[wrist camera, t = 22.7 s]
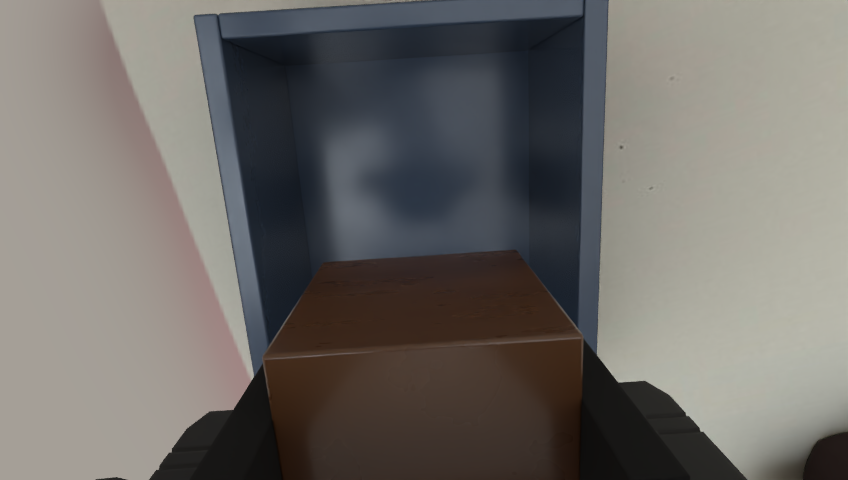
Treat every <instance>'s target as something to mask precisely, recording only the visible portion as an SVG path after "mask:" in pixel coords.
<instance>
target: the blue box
mask: <svg viewBox="0 0 848 480" xmlns="http://www.w3.org/2000/svg"><path fill="white" fill-rule="evenodd" d="M608 2H609V0H426V1H410V2H394V3H378V4H362V5H346V6H330V7H314V8H298V9H282V10H266V11H250V12H234V13H220V14H219V15H217V14H201V15H195V16H194V23H195V29H196V34H197V40H198V46H199V52H200V58H201V64H202V70H203V76H204V82H205V88H206V94H207V100H208V106H209V111H210V117H211V123H212V129H213V135H214V141H215V147H216V153H217V159H218V165H219V171H220V177H221V183H222V188H223V194H224V200H225V206H226V212H227V218H228V224H229V230H230V236H231V242H232V248H233V254H234V260H235V265H236V271H237V277H238V283H239V289H240V295H241V301H242V307H243V313H244V319H245V325H246V331H247V336H248V342H249V348H250V354H251V360H252V366H253V372H254V376H255V375H256V373H257V372H258V370H259V369H260V367H261V365H262V364H263V360H262V357H263V354H264V353H265V351H266V350H267V348H268V347H269V345H270V343H271V342H272V340H273V339H274V337H275V336H276V334H277V333H278V331H279V330H280V328H281V327H282V325H283V323H284V322H285V320H286V319H287V317H288V316H289V314H290V313H291V311H292V310H293V308H294V307H295V305H296V303H297V302H298V300H299V299H300V297H301V296H302V294H303V293H304V291H305V290H306V288H307V287H308V285H309V284H310V282H311V280H312V279H313V277H314V276H315V274H316V273H317V271H318V270H319V268H320V267H321V265H322V264H323V263H324V262H335V261H350V260H365V259H380V258H395V257H411V256H426V255H441V254H456V253H471V252H486V251H502V250H517V251H518V253H519V254H520V255H521V257H522V258H523V259H524V260H525V262H526V263H527V264H528V265H529V267H530V268H531V269H532V271H533V272H534V273H535V274H536V276H537V277H538V278H539V279H540V281H541V282H542V283H543V285H544V286H545V287H546V288H547V290H548V291H549V292H550V293H551V295H552V296H553V297H554V299H555V300H556V301H557V302H558V304H559V305H560V306H561V307H562V309H563V310H564V311H565V313H566V314H567V315H568V316H569V318H570V319H571V320H572V321H573V323H574V324H575V325H576V327H577V328H578V329H579V330H580V332H581V333H582V335H583V338H584V339H585V341H586V342H587V343H588V345H589V346H590V347H591V348H592V350H593V351H594V352H595V354H596V355H597V331H598V301H599V271H600V241H601V211H602V181H603V152H604V122H605V92H606V62H607V32H608Z"/></svg>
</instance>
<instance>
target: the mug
mask: <svg viewBox="0 0 848 480" xmlns="http://www.w3.org/2000/svg"><path fill="white" fill-rule="evenodd" d="M803 480H848V432H847V433H842V434H837V435H834V436H830V437H828V438H825V439H822V440H819V441H818V442H817V444H816V445H815V447H814V449H813V450H812V452H811V454H810V456H809V458H808V460H807V463H806V466H805V470H804V475H803Z"/></svg>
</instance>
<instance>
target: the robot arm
mask: <svg viewBox="0 0 848 480" xmlns="http://www.w3.org/2000/svg"><path fill="white" fill-rule="evenodd" d="M96 480H126V479H122V478H117V477H116V478H105V479H96ZM149 480H282V476H281V470H280V464H279V458H278V452H277V446H276V440H275V433H274V427H273V421H272V416H271V409H270V403H269V397H268V391H267V385H266V379H265V373H264V367H263V364H262V365H261V367H260V369H259V370H258V372H257V373H256V375H255V376H254V378H253V380H252V381H251V383H250V384H249V386H248V388H247V389H246V391H245V392H244V394H243V396H242V397H241V399H240V400H239V402H238V403H237V405H236V407H235V408H234V410H227V411H211V412H209V413H207V414H206V415H205V416H203V417H202V418H201V419H199V420H198V421H197V422H195V423H194V424H193V425H191V426H190V427H189V428H187V429H186V431H185V432H184V433H183V435H182V436H181V437H180V439H179V440H178V442H177V443H176V444H175V445H174V447H173V448H172V453H169V454H168V455H167V456H166V458H165V459H164V460H163V462H162V463H161V464H160V468H159V470H156V471H155V472H154V474H153V475H152V476H151V478H150V479H149ZM580 480H747V479H746V478H745V477H744V475H743V474H742V473H741V472H740V471H739V470H738V469H737V468H736V467H735V466H734V465H733V464H732V463H731V461H730V460H729V459H728V458H727V457H726V456H725V455H724V454H723V453H722V452H721V451H720V450H719V448H718V447H717V446H716V445H715V444H714V443H713V442H712V441H711V440H710V439H709V438H708V437H707V435H706V434H705V433H704V432H700V428H699V427H698V426H697V425H696V424H695V423H694V421H693V420H692V419H691V418H690V417H689V416H686V413H685V412H684V411H683V410H682V408H681V407H680V406H679V405H678V404H677V403H676V402H675V401H674V400H673V399H672V398H671V397H670V395H668V394H666V393H665V392H663V391H661V390H660V389H658V388H656V387H654V386H653V385H651V384H649V383H648V382H646V381H638V382H623V383H618V382H617V381H616V379H615V378H614V377H613V376H612V374H611V373H610V372H609V370H608V369H607V368H606V367H605V365H604V364H603V363H602V361H601V360H600V359H599V357H598V356H597V355H596V354H595V352H594V351H593V350H592V348H591V347H590V346H589V345H588V343H587V342H586V341H585V339H584V338H583V382H582V405H581V449H580Z"/></svg>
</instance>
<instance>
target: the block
mask: <svg viewBox="0 0 848 480" xmlns="http://www.w3.org/2000/svg"><path fill="white" fill-rule="evenodd" d="M262 360H263V367H264V373H265V379H266V385H267V391H268V397H269V403H270V409H271V416H272V421H273V427H274V433H275V440H276V446H277V452H278V458H279V464H280V470H281V476H282V480H580V449H581V405H582V382H583V335H582V333H581V332H580V330H579V329H578V328H577V327H576V325H575V324H574V323H573V321H572V320H571V319H570V318H569V316H568V315H567V314H566V313H565V311H564V310H563V309H562V307H561V306H560V305H559V304H558V302H557V301H556V300H555V299H554V297H553V296H552V295H551V293H550V292H549V291H548V290H547V288H546V287H545V286H544V285H543V283H542V282H541V281H540V279H539V278H538V277H537V276H536V274H535V273H534V272H533V271H532V269H531V268H530V267H529V265H528V264H527V263H526V262H525V260H524V259H523V258H522V257H521V255H520V254H519V253H518V251H517V250H502V251H486V252H471V253H456V254H441V255H426V256H411V257H395V258H380V259H365V260H350V261H335V262H324V263H323V264H322V265H321V267H320V268H319V270H318V271H317V273H316V274H315V276H314V277H313V279H312V280H311V282H310V284H309V285H308V287H307V288H306V290H305V291H304V293H303V294H302V296H301V297H300V299H299V300H298V302H297V303H296V305H295V307H294V308H293V310H292V311H291V313H290V314H289V316H288V317H287V319H286V320H285V322H284V323H283V325H282V327H281V328H280V330H279V331H278V333H277V334H276V336H275V337H274V339H273V340H272V342H271V343H270V345H269V347H268V348H267V350H266V351H265V353H264V354H263V357H262Z"/></svg>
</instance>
